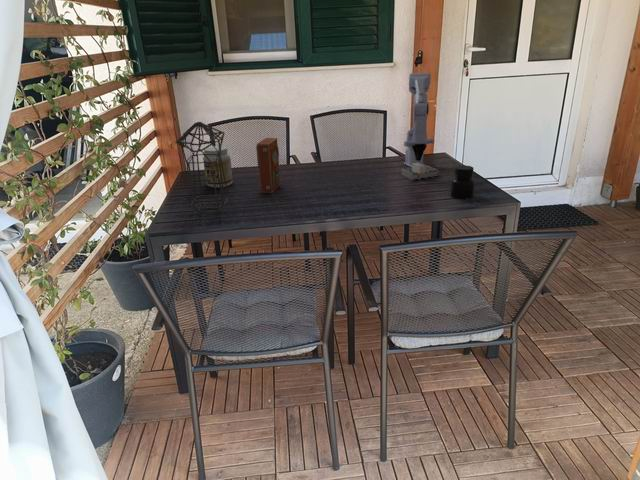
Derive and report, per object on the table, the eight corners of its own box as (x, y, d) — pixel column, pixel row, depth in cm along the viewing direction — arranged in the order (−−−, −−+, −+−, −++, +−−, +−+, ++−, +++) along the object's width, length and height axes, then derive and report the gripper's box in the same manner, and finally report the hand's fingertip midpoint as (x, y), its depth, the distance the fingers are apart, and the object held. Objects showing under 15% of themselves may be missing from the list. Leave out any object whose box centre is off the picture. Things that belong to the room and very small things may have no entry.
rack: (400, 175, 216) (401, 168, 215) (426, 171, 221) (426, 165, 219) (411, 180, 208) (411, 173, 207) (438, 176, 212) (438, 170, 211)
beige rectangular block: (411, 173, 216) (412, 163, 214) (417, 173, 216) (417, 162, 214) (419, 177, 210) (419, 166, 208) (425, 176, 210) (425, 166, 208)
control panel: (282, 184, 209) (273, 194, 196) (268, 183, 211) (257, 193, 197) (279, 137, 201) (269, 144, 187) (264, 137, 202) (253, 144, 189)
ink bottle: (477, 195, 186) (480, 166, 182) (470, 201, 180) (473, 171, 175) (453, 191, 192) (456, 163, 187) (446, 197, 185) (448, 168, 180)
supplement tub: (201, 187, 209) (196, 150, 202) (214, 180, 219) (210, 144, 212) (225, 189, 205) (221, 151, 198) (237, 181, 216) (233, 145, 209)
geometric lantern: (233, 205, 185) (224, 117, 170) (227, 220, 170) (217, 126, 155) (194, 206, 184) (181, 118, 169) (185, 221, 170) (170, 127, 155)
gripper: (410, 133, 200) (408, 164, 205) (438, 130, 204) (436, 160, 210) (402, 131, 206) (401, 160, 211) (430, 128, 210) (428, 157, 216)
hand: (418, 160), depth 211 cm, fingers closed
